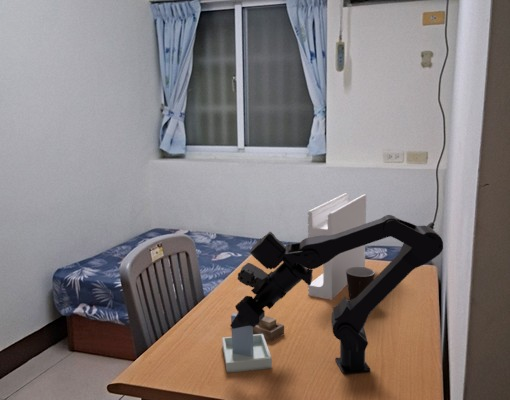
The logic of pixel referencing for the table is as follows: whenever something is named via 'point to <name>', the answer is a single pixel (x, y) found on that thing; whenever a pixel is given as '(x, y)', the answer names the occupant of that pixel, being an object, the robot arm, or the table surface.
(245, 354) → the pale blue tall block
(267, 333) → the rack
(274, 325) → the offcut
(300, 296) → the table surface
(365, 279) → the coffee mug
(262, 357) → the tray
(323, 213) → the white piece
